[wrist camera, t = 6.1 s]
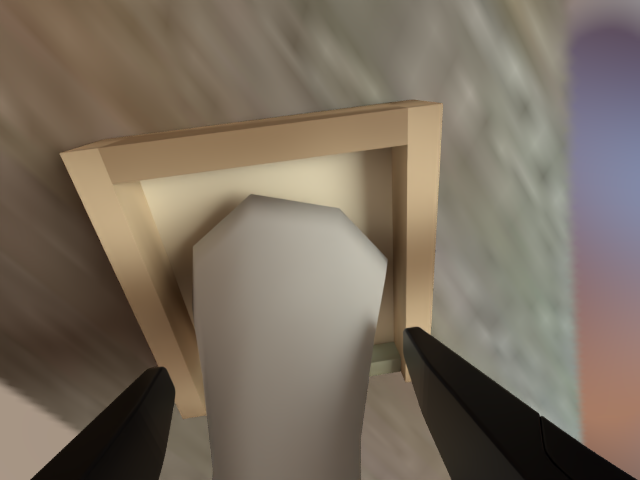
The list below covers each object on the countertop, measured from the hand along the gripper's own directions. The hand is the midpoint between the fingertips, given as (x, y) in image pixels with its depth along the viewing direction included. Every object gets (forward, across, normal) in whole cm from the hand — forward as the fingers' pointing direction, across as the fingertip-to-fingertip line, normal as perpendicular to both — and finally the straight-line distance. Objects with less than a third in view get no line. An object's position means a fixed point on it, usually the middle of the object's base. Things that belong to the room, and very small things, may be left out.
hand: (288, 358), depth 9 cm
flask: (+4, 0, 0) cm, 4 cm away
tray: (+5, 0, 0) cm, 5 cm away
